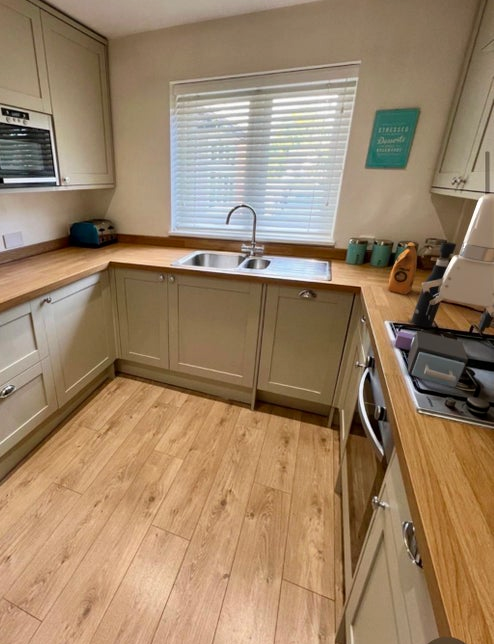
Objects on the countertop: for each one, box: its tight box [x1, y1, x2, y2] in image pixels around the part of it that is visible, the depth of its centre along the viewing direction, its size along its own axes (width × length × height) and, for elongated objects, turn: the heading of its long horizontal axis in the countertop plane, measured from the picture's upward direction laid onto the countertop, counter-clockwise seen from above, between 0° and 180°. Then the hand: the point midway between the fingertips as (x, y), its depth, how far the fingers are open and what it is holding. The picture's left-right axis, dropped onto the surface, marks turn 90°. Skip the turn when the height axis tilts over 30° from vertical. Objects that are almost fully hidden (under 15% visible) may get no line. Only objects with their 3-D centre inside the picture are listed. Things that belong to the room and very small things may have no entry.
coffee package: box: [387, 241, 418, 295], centre depth 152 cm, size 10×12×22 cm
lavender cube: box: [394, 330, 414, 351], centre depth 105 cm, size 4×4×4 cm
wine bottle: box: [410, 241, 457, 329], centre depth 116 cm, size 6×6×30 cm
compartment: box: [407, 330, 469, 389], centre depth 91 cm, size 12×11×9 cm
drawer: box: [411, 351, 465, 388], centre depth 87 cm, size 15×9×7 cm, turn 148°
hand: (454, 323), depth 78 cm, fingers open, 9 cm apart
